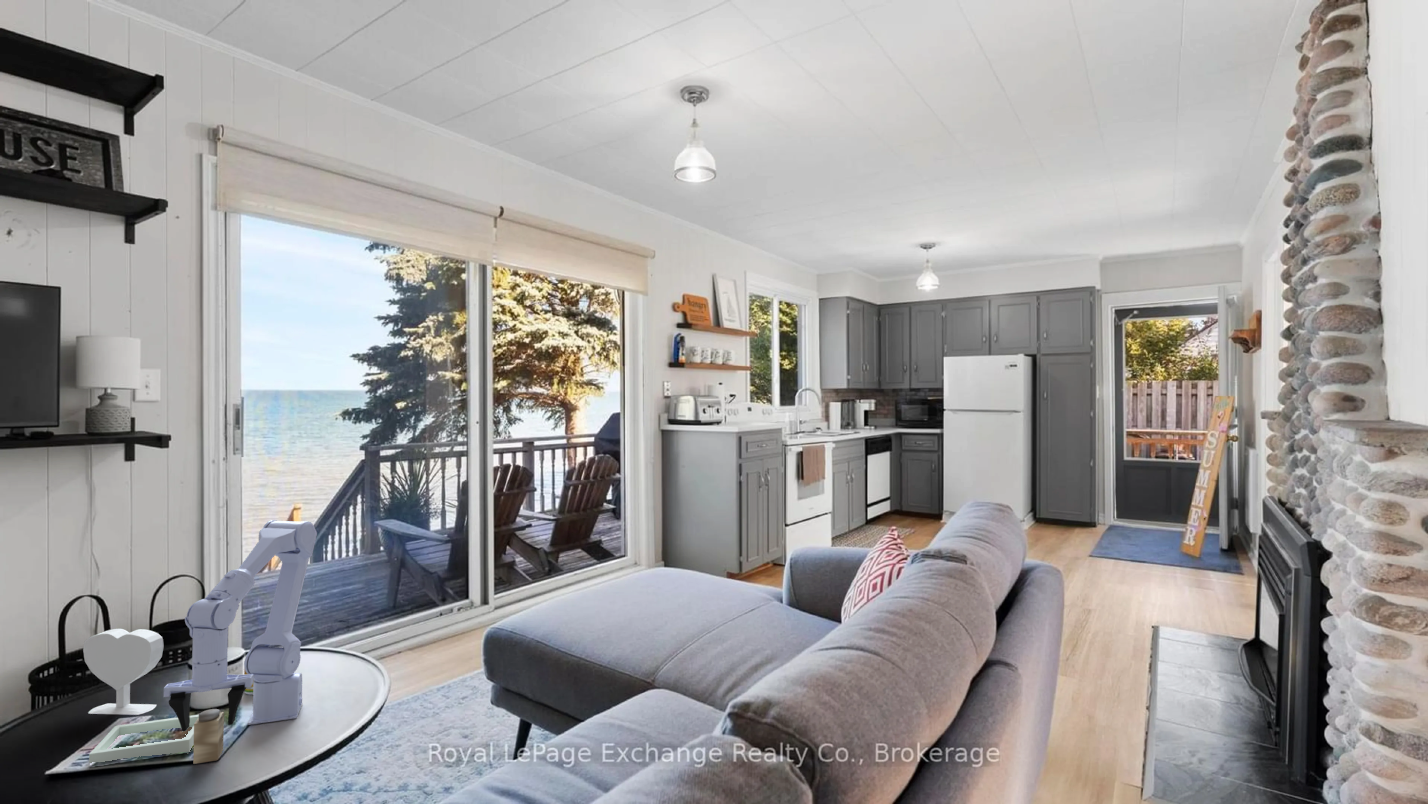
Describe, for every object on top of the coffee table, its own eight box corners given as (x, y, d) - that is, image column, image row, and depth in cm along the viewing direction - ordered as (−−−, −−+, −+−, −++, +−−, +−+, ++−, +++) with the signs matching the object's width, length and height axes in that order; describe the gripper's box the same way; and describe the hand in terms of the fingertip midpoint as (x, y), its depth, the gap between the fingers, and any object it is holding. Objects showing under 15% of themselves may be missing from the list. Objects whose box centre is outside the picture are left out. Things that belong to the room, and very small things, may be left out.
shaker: (223, 750, 139) (223, 706, 139) (217, 759, 136) (218, 715, 136) (199, 753, 138) (200, 709, 138) (193, 763, 134) (194, 718, 134)
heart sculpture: (165, 704, 158) (166, 628, 158) (147, 714, 153) (148, 635, 153) (99, 703, 158) (100, 626, 158) (79, 713, 153) (80, 634, 153)
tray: (206, 725, 149) (207, 713, 149) (189, 752, 138) (189, 739, 138) (115, 738, 143) (115, 725, 143) (88, 768, 132) (89, 753, 132)
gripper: (158, 671, 130) (157, 741, 130) (247, 661, 136) (246, 728, 136) (171, 657, 137) (169, 724, 137) (256, 649, 142) (254, 713, 142)
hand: (208, 725), depth 137 cm, fingers open, 7 cm apart
